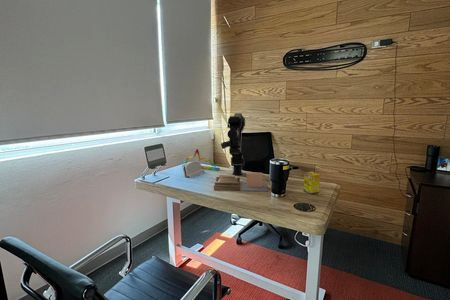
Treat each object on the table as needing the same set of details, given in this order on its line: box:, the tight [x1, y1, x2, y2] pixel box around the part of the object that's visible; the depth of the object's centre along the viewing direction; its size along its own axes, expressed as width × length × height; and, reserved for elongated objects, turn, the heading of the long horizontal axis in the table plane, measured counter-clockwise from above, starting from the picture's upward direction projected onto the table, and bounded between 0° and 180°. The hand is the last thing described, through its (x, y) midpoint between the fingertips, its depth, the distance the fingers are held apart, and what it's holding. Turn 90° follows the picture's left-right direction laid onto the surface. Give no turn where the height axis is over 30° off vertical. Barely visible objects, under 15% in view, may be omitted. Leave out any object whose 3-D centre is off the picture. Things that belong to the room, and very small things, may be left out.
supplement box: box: [303, 171, 321, 195], centre depth 135 cm, size 6×6×11 cm
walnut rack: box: [213, 176, 241, 191], centre depth 147 cm, size 17×15×2 cm
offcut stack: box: [217, 174, 239, 183], centre depth 151 cm, size 5×12×4 cm, turn 87°
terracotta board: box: [246, 172, 263, 187], centre depth 143 cm, size 2×9×8 cm, turn 87°
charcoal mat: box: [241, 181, 269, 192], centre depth 144 cm, size 14×14×1 cm
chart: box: [182, 148, 221, 172], centre depth 183 cm, size 30×3×15 cm, turn 68°
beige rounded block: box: [182, 160, 205, 179], centre depth 170 cm, size 17×5×10 cm, turn 148°
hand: (234, 161), depth 152 cm, fingers open, 9 cm apart
